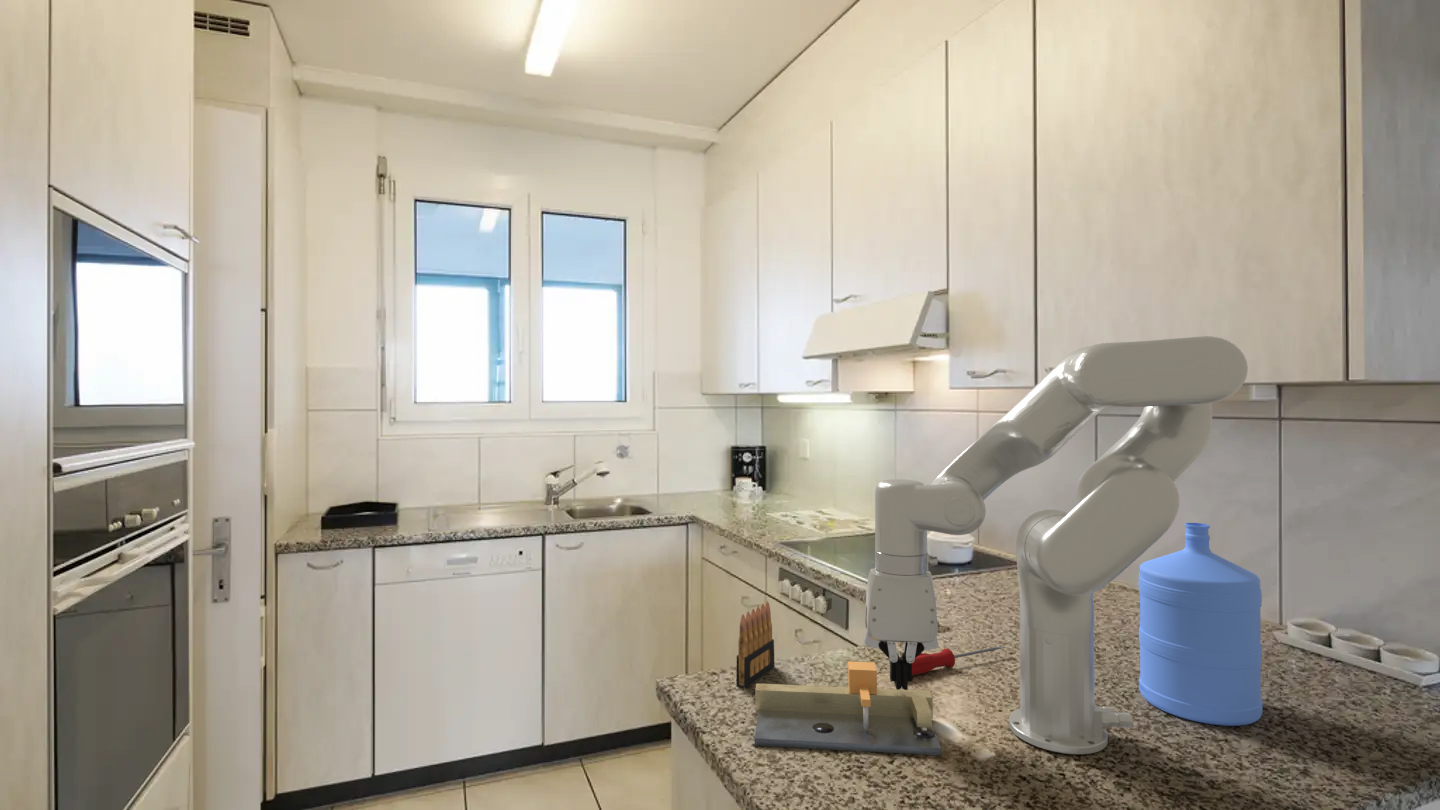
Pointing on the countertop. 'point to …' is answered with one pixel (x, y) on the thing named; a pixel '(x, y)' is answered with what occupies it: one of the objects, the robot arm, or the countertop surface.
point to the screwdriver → (940, 660)
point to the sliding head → (863, 684)
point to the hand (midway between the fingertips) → (900, 685)
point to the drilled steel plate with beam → (845, 719)
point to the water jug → (1200, 635)
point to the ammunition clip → (755, 646)
